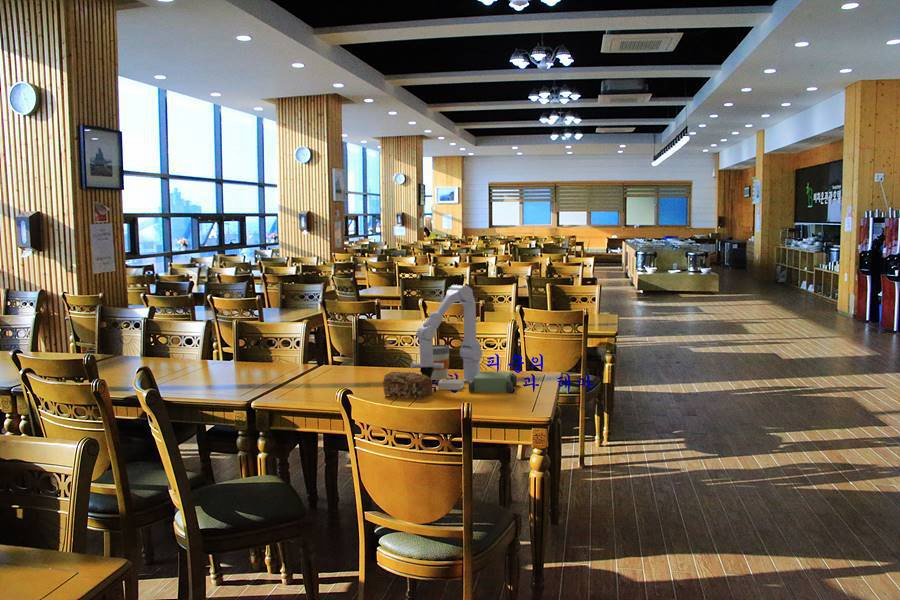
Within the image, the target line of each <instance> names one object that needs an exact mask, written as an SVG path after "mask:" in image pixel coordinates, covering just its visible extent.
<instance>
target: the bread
mask: <svg viewBox="0 0 900 600" xmlns="http://www.w3.org/2000/svg"><path fill="white" fill-rule="evenodd" d="M382 385H383V393H384V396H385V395H389V396H388V397H393V396H395V397H394V398H399V397H402V398H401V399H414V398H415V400H419V399H425V397H429V396H432V394H433V381H432V380H431V379H430V378H429V377H428V376H426V375H422V373H418V372H411V371H391V372H389V373H386V374H385V375H384V377H383V381H382Z"/></svg>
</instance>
